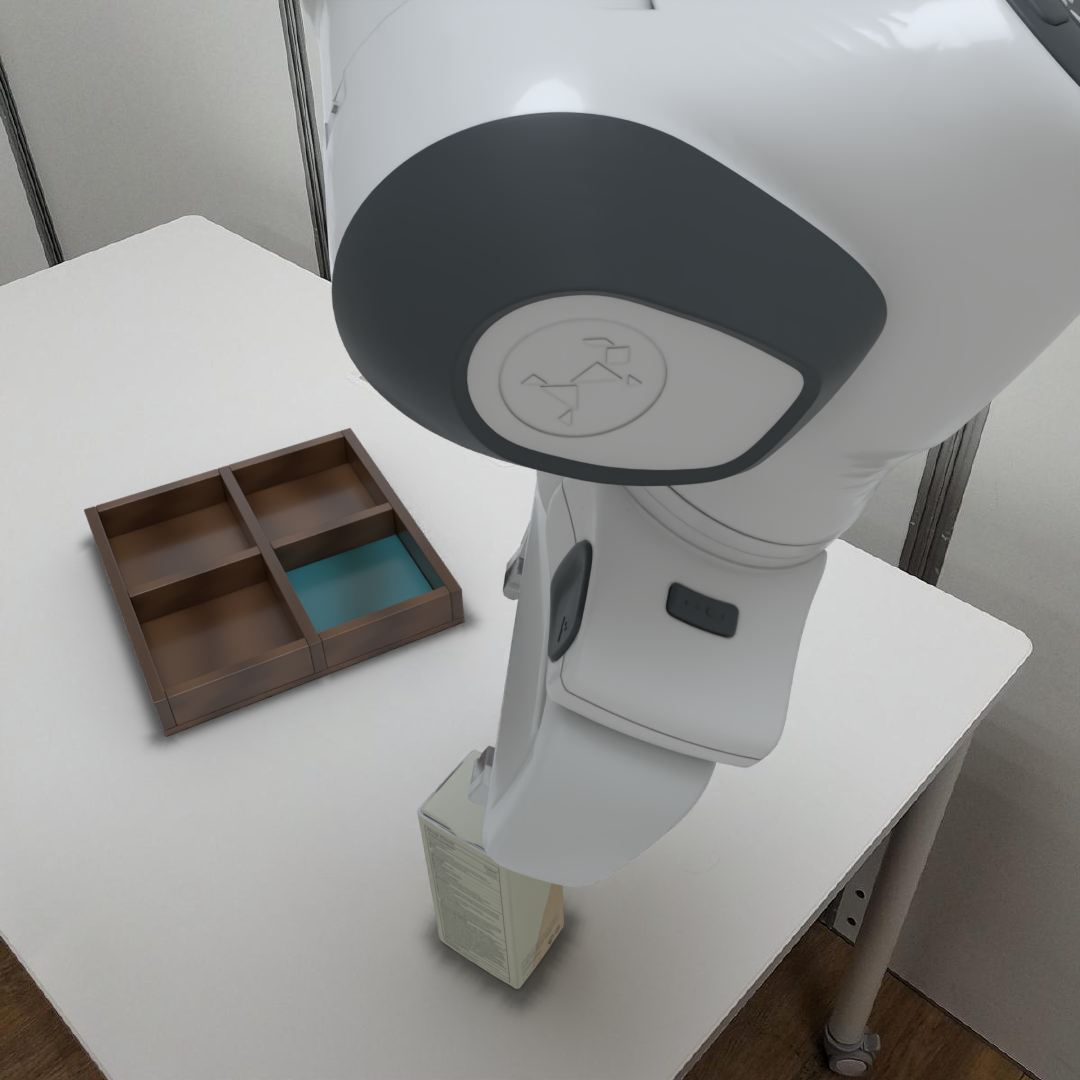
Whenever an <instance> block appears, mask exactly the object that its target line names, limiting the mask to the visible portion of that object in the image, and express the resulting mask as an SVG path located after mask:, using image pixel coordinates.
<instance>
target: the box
mask: <svg viewBox="0 0 1080 1080" xmlns="http://www.w3.org/2000/svg"><path fill="white" fill-rule="evenodd" d="M481 754H482V752H481V751H479V750H478V749H473V750H471V751H470V752H469V753H468V754H467V755H466V756H465V757H464V758H463V759H462V760H461V761H460V762H459V763H458V765H456V767H454V769H453V770H452V771H451V772H450V773H449V774H448V775H447V776H446V777H445V779H444V780H443V781H442V782H440V784H439V785H438V786H437V787H436V788H435V789H434V790H433V792H431V793H430V795H429V796H428V797H427V798H426V799H425V800H424V801H423V803H422V804H421V805H420V806H419V807H418V808H417V810H416V812H417V818H418V823H419V829H420V835H421V840H422V845H423V852H424V857H425V862H426V867H427V874H428V881H429V885H430V891H431V897H432V903H433V907H434V914H435V921H436V925H437V926H436V927H437V932H438V938H439V940H440V941H441V942H442V943H444V944H445V946H448V947H449V948H451V949H452V950H453V951H454V952H456V953H458V954H459V955H461V956H462V957H464V958H465V959H467V960H468V961H470V962H471V963H473V964H475V965H476V966H478V967H479V968H481V969H482V970H484V971H486V972H487V973H489V974H490V975H492V976H493V977H495V978H496V979H499V980H500V981H502V982H504V983H505V984H506V985H509V986H510V987H512V988H514V989H516V990H519V989H520V988H521V987H522V986H523V985H524V984H525V982H526V981H527V980H528V979H529V977H530V976H531V975H532V973H533V972H534V970H535V969H536V968H537V967H538V965H539V964H540V962H541V961H542V959H543V958H544V957H545V955H546V954H547V952H548V951H549V950H550V948H551V946H552V945H553V943H554V942H555V940H556V939H557V937H558V936H559V934H560V933H561V931H562V930H563V928H564V926H565V915H564V914H565V913H564V911H565V910H564V886H562V885H558V884H553V883H549V882H545V881H542V880H538V879H534V878H531V877H528V876H525V875H522V874H519V873H517V872H514V871H511V870H509V869H507V868H504V867H502V866H500V865H498V864H497V863H495V862H494V861H493V860H492V859H491V858H490V857H489V856H488V854H487V853H486V851H485V850H484V848H483V845H482V840H481V835H482V827H483V821H484V816H485V811H486V807H485V806H482V805H479V804H476V803H473V802H472V801H470V800H469V799H468V793H469V788H470V782H471V777H472V772H473V766H474V761H475V760H476V759H477V758H480V756H481Z"/></svg>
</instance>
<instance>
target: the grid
mask: <svg viewBox="0 0 1080 1080" xmlns="http://www.w3.org/2000/svg"><path fill="white" fill-rule="evenodd" d="M83 512H84V516H85V518H86V520H87V521H86V522H87V523H88V527H89V529H90V532H91V534H92V537H93V540H94V543H95V546H96V549H97V552H98V554H99V556H100V560H101V563H102V565H103V568H104V571H105V574H106V577H107V579H108V582H109V584H110V588H111V590H112V593H113V596H114V598H115V601H116V603H117V607H118V610H119V612H120V615H121V619H122V621H123V623H124V626H125V629H126V632H127V634H128V638H129V639H130V643H131V645H132V649H133V651H134V654H135V657H136V659H137V663H138V665H139V668H140V671H141V673H142V676H143V680H144V682H145V685H146V687H147V690H148V693H149V696H150V699H151V701H152V704H153V707H154V710H155V712H156V715H157V717H158V720H159V723H160V726H161V728H162V731H163V733H164V736H165V737H168V736H171V735H173V734H175V733H178V732H181V731H184V730H185V729H188V728H191V727H194V726H196V725H199V724H202V723H204V722H207V721H209V720H212V719H215V718H217V717H220V716H222V715H225V714H228V713H231V712H233V711H236V710H238V709H241V708H243V707H246V706H248V705H251V704H253V703H256V702H258V701H261V700H264V699H266V698H269V697H273V696H274V695H277V694H279V693H282V692H284V691H287V690H290V689H292V688H294V687H298V686H300V685H303V684H306V683H308V682H311V681H314V680H315V679H318V678H321V677H324V676H326V675H329V674H332V673H334V672H336V671H339V670H342V669H344V668H347V667H350V666H353V665H356V664H358V663H360V662H364V661H365V660H368V659H371V658H373V657H376V656H379V655H381V654H383V653H387V652H388V651H392V650H394V649H397V648H399V647H403V646H405V645H407V644H410V643H412V642H416V641H418V640H421V639H422V638H425V637H427V636H431V635H433V634H436V633H439V632H440V631H443V630H446V629H449V628H451V627H454V626H457V625H459V624H462V623H464V622H465V613H464V599H463V588H462V587H461V585H460V584H459V582H458V581H457V579H456V578H455V577H454V575H453V573H452V572H451V571H450V570H449V568H448V566H447V565H446V564H445V562H444V561H443V560H442V557H440V555H439V554H438V552H437V551H436V549H435V548H434V546H433V545H432V543H431V542H430V540H429V539H428V537H427V536H426V535H425V533H424V532H423V530H422V529H421V527H420V526H419V524H418V523H417V521H416V520H415V519H414V517H413V516H412V514H411V513H410V512H409V510H408V508H407V507H406V506H405V504H404V503H403V502H402V500H401V499H400V497H399V496H398V494H397V493H396V492H395V490H394V488H393V487H392V485H391V484H390V483H389V481H388V480H387V478H386V477H385V475H384V474H383V473H382V471H381V470H380V468H379V467H378V465H377V464H376V462H375V461H374V460H373V457H371V456H370V454H369V453H368V451H367V450H366V448H365V446H364V445H363V444H362V442H361V441H360V439H359V437H358V436H357V435H356V433H355V432H354V431H353V429H352V428H351V427H348V428H345V429H341V430H338V431H335V432H331V433H328V434H325V435H321V436H318V437H315V438H312V439H309V440H305V441H303V442H299V443H296V444H293V445H289V446H286V447H283V448H279V449H275V450H272V451H269V452H266V453H262V454H260V455H257V456H253V457H250V458H247V459H243V460H239V461H237V462H233V463H231V464H227V465H224V466H220V467H218V468H215V469H214V468H213V469H211V470H207V471H205V472H201V473H198V474H193V475H191V476H188V477H184V478H182V479H178V480H174V481H171V482H168V483H166V484H162V485H159V486H155V487H152V488H149V489H146V490H142V491H139V492H135V493H132V494H130V495H129V494H128V495H126V496H123V497H120V498H116V499H113V500H109V501H106V502H103V503H100V504H97V505H94V506H90V507H87V508H84V509H83Z"/></svg>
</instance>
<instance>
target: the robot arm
mask: <svg viewBox="0 0 1080 1080" xmlns="http://www.w3.org/2000/svg"><path fill="white" fill-rule="evenodd" d="M299 2H300V5H301V6H302V9H303V11H304V13H305V15H306V17H307V21H308V23H309V25H310V27H311V31H312V33H313V36H314V38H315V41H316V44H317V48H318V52H319V60H320V79H321V94H322V95H321V98H322V113H323V128H324V129H323V136H322V153H323V154H322V155H323V156H322V157H323V179H324V180H323V181H324V195H325V212H326V213H325V214H326V226H327V227H326V228H327V244H328V258H329V259H328V260H329V271H330V279H331V281H330V282H331V303H332V310H333V316H334V321H335V325H336V328H337V332H338V334H339V337H340V340H341V342H342V344H343V345H342V346H343V347H344V349H345V351H346V353H347V355H348V356H349V358H350V360H351V362H352V363H353V364H354V366H355V367H356V369H357V370H358V372H359V373H360V374H361V375H362V377H363V378H364V379H365V381H366V382H367V383H368V384H369V386H371V387H372V388H373V389H374V390H375V391H376V392H377V393H378V394H379V396H381V397H382V398H383V399H384V400H386V401H387V402H388V403H389V404H390V405H391V406H393V407H394V408H395V409H396V410H397V411H399V412H400V413H401V414H403V415H404V416H406V417H407V418H408V419H410V420H411V421H413V422H415V423H416V424H417V425H419V426H421V427H422V428H423V429H426V430H427V431H428V432H431V433H432V434H435V435H437V436H439V437H441V438H443V439H445V440H447V441H449V442H451V443H453V444H455V445H457V446H459V447H462V448H465V449H467V450H470V451H472V452H475V453H478V454H480V455H483V456H486V457H489V458H492V459H495V460H499V461H501V462H505V463H509V464H512V465H516V466H520V467H522V468H523V467H524V468H528V469H530V470H535V472H536V475H535V476H536V482H535V486H534V487H535V488H534V495H533V500H532V507H531V514H530V519H529V522H528V524H527V527H526V529H525V531H524V534H523V537H522V539H521V542H520V545H519V547H518V548H517V549H516V550H515V552H514V553H513V554H512V556H511V557H510V559H509V560H508V562H506V567H505V572H504V577H503V578H504V579H503V586H502V594H503V596H504V597H505V598H507V599H508V600H511V601H517V604H516V610H515V617H514V622H513V623H514V624H513V630H512V637H511V643H510V649H509V656H508V663H507V669H506V676H505V682H504V687H503V688H504V689H503V693H502V694H503V695H502V701H501V707H500V712H499V713H500V714H499V721H498V727H497V733H496V740H495V746H492V745H488V746H487V747H486V748H485V749H484V750H483V751H482V752H481V753H482V754H481V756H480V758H477V759H476V760H475V761H474V766H473V772H472V777H471V782H470V788H469V793H468V799H469V800H470V801H472V802H473V803H476V804H479V805H482V806H485V807H486V811H485V816H484V821H483V827H482V835H481V840H482V845H483V848H484V850H485V851H486V853H487V854H488V856H489V857H490V858H491V859H492V860H493V861H494V862H495V863H497V864H498V865H500V866H502V867H504V868H507V869H509V870H511V871H514V872H517V873H519V874H522V875H525V876H528V877H531V878H534V879H538V880H542V881H545V882H549V883H553V884H558V885H562V886H563V887H567V888H568V887H569V888H587V887H591V886H593V885H596V884H598V883H600V882H602V881H604V880H606V879H607V878H608V877H610V876H612V875H613V874H615V873H616V872H617V871H619V870H621V869H622V868H624V867H625V866H627V865H628V864H630V862H632V861H633V860H635V859H636V858H638V857H639V856H640V855H641V854H642V853H644V852H646V850H648V849H649V848H651V846H653V845H654V844H656V842H658V841H659V840H660V839H662V837H664V836H665V835H666V834H668V832H670V831H671V830H672V829H673V828H675V827H676V826H677V825H678V824H679V823H680V822H681V821H682V820H683V819H684V818H685V817H687V815H688V814H689V813H690V812H691V810H692V809H693V808H694V806H695V805H696V804H697V803H698V801H699V800H700V798H702V795H703V794H704V792H705V791H706V789H707V787H708V785H709V783H710V781H711V778H712V776H713V774H714V771H715V769H716V766H717V764H723V765H727V766H732V767H736V768H742V769H747V768H750V767H752V766H755V765H757V764H758V763H760V762H761V761H763V760H765V758H766V757H768V756H769V755H770V754H771V753H772V752H773V751H774V749H775V748H776V747H777V746H778V744H779V742H780V741H781V739H782V736H783V732H784V730H785V726H786V721H787V716H788V711H789V706H790V705H789V704H790V700H791V699H790V698H791V693H792V685H793V682H794V681H793V680H794V677H795V670H796V665H797V660H798V657H799V656H798V654H799V651H800V647H801V642H802V638H803V634H804V632H805V631H804V630H805V626H806V623H807V620H808V616H809V613H810V610H811V607H812V604H813V601H814V599H815V596H816V594H817V590H818V588H819V586H820V584H821V582H822V579H823V576H824V574H825V569H826V567H827V561H828V551H827V550H826V549H827V548H828V547H829V546H830V545H831V544H832V543H833V542H834V541H836V540H837V539H838V538H839V537H841V536H842V534H844V533H845V532H846V531H847V530H848V529H849V528H851V526H852V525H854V523H855V522H856V521H858V519H859V518H860V516H862V514H863V513H864V512H865V511H866V509H867V508H868V506H869V504H870V503H871V501H872V500H873V497H874V496H875V494H876V492H877V491H878V488H879V486H880V485H881V483H882V482H883V480H884V478H886V476H887V475H888V474H889V473H890V472H891V471H892V470H893V469H894V468H896V467H897V466H898V465H900V464H901V463H902V462H904V461H906V460H908V459H910V458H912V457H914V456H916V455H917V456H918V455H919V454H921V453H923V452H925V451H928V450H930V449H932V448H934V447H936V446H938V445H941V444H942V443H943V442H946V440H948V439H949V438H951V437H952V436H953V435H954V434H956V433H957V432H958V431H959V430H960V429H962V428H963V427H964V426H965V425H966V424H967V423H968V422H970V421H971V420H972V419H973V418H974V417H975V416H976V415H977V414H979V413H980V412H981V411H982V410H983V409H984V408H985V407H987V405H989V404H990V403H991V402H992V401H993V400H994V399H995V398H997V396H999V395H1000V394H1001V393H1002V392H1003V391H1004V390H1005V389H1006V388H1007V387H1008V386H1009V385H1010V384H1011V383H1012V382H1013V381H1014V380H1016V379H1017V378H1018V377H1019V376H1020V375H1021V374H1022V373H1023V372H1024V371H1025V370H1027V369H1028V368H1029V366H1031V365H1032V364H1033V362H1035V360H1037V359H1038V358H1039V357H1040V356H1041V355H1042V354H1043V353H1044V352H1045V351H1046V350H1047V349H1048V347H1050V346H1051V345H1053V343H1054V342H1055V341H1056V340H1057V339H1058V338H1059V337H1060V336H1061V335H1062V334H1063V333H1064V332H1065V331H1066V330H1067V329H1068V327H1069V326H1070V325H1071V324H1072V323H1073V322H1075V320H1076V319H1078V317H1079V316H1080V0H299Z"/></svg>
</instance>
